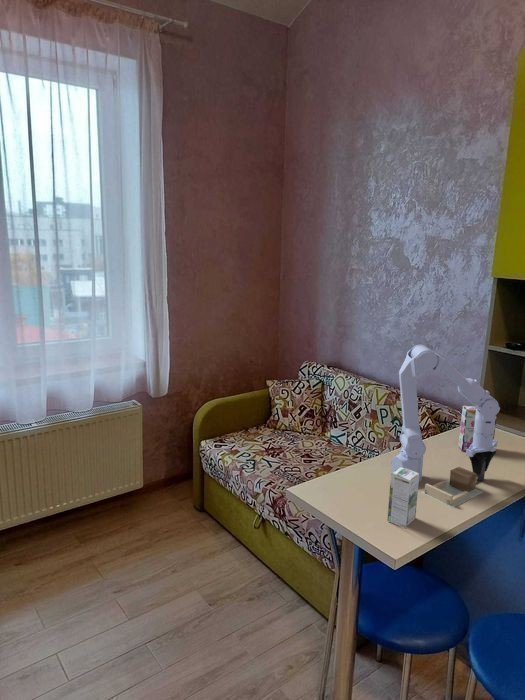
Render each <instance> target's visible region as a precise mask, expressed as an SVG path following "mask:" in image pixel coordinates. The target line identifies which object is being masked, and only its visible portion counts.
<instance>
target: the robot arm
mask: <svg viewBox="0 0 525 700" xmlns="http://www.w3.org/2000/svg"><path fill="white" fill-rule="evenodd" d="M432 370H433V372H442V373H443V374H444V376H446V377H448V378H449V379H450V380H451V381H452V382H454V383H455V384H456V385H457V392H458V393H459V394H460V395H462V396H463V398H465V399H466V400H467V401H468V402H469V403H470V404H471V405H472V406H474V407H476V408H477V409H478V410H477V409H476V416H475V425H474V435H473V443H472V444H471V446H470V447H469V448H468V449H466V451H465V456H468V459H469V460H470V463H471V469H472V472H474V473H476V474H478V475H479V474H480V473H481V470H482V465H483V463H484V461H486V466H485V473H486V472H487V471H488V468H489V466H490V463H491V461H492V460H493V458H494V456H495V455H496V454H497V451H496V450H497V449H496V448H497V447H498V440H496V439H495V438H494V439H493V435H494V426H495V416H496V414H497V415H498V414H499V412H500V410H501V407H500V404H499V402H498V401H497V399H495V398H494V397H493V396H491V395H490V394H491V393H490V391H489V390H487V389H486V390H485V389H484V388H483V387H482V386H481V385H480V381H478V380H477V379H473V378H469V377H468V378H467V377H464V376H463V375H462V374H461V373H460V372H459V371H458V370H457V368H455V367H454V366H453V365H452V364H451V363H450V362H449V361H448V360H446V359H445V358H444V356H441V355H439V354H438V353H436V352H435V350H434V351H433V350H432V349H430V348H429V347H428V346H427V345H425V344H417V345H414V346H413V347H411V349H409V350H408V351H407V353H406V356H405V359H404V361H403V363H402V364H401V367H400V369H399V371H398V377H399V388H400V389H399V391H400V404H401V415H402V416H401V417H402V426H401V433H400V436H399V443H400V444H401V445H402V446H401V449H400V450H399V453H398V454H397V455H395V456H393V457H392V459H391V466H390V475H391V474H392V473H394V472H395V471H396V470H398V469H399V468H400V467H401V468H406V469H409V470H412V471H414V472H416V473H419V483H420V482H421V481H422V479H423V467H424V466H423V465H424V455H425V453H426V451H427V446H426V444H425V442H424V441H423V437H422V436H423V435H422V432H421V429H420V418H419V405H418V404H419V402H418V391H417V390H418V389H417V379H418V378H420V376H421V375H423V374H425V373H427V372H430V371H432ZM495 427H496V426H495ZM494 436H495V435H494ZM495 447H496V448H495Z"/></svg>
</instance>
